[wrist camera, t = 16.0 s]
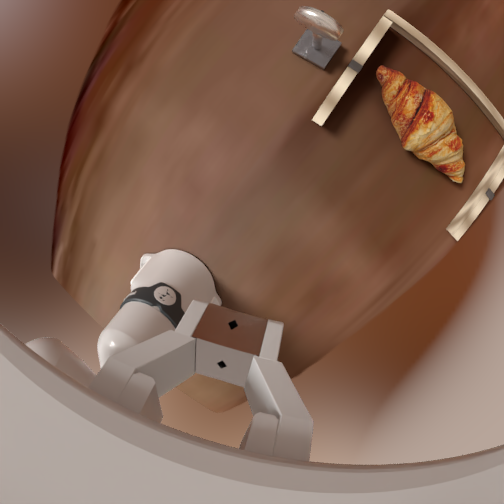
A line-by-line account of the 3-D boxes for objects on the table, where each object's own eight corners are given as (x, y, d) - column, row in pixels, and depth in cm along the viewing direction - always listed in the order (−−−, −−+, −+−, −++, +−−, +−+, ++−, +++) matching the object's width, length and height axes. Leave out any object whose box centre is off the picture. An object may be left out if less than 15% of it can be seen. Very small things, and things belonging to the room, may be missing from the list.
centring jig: (450, 233, 38) (458, 242, 35) (311, 119, 35) (311, 119, 32) (512, 142, 26) (524, 146, 23) (384, 14, 24) (389, 6, 21)
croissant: (457, 163, 35) (491, 160, 27) (435, 203, 35) (472, 205, 27) (379, 63, 30) (408, 42, 23) (347, 95, 31) (377, 73, 23)
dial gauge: (323, 70, 31) (330, 46, 18) (292, 52, 30) (282, 22, 18) (340, 45, 28) (355, 12, 16) (309, 28, 28) (307, -12, 15)
